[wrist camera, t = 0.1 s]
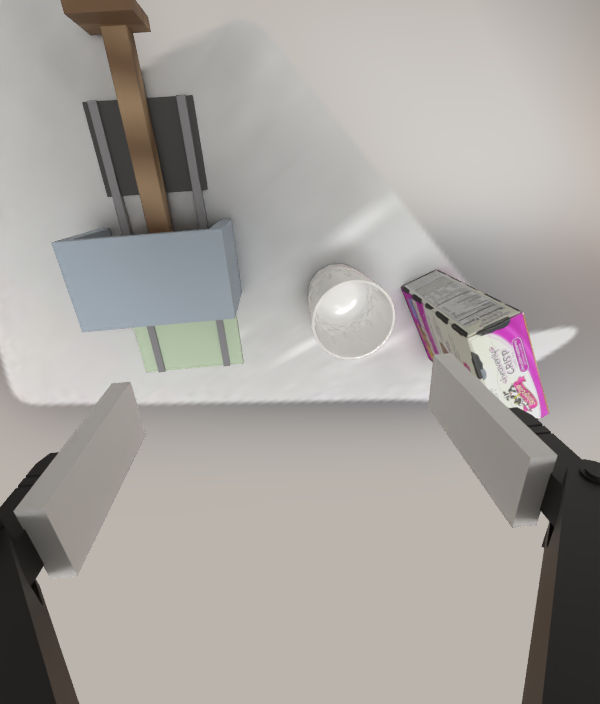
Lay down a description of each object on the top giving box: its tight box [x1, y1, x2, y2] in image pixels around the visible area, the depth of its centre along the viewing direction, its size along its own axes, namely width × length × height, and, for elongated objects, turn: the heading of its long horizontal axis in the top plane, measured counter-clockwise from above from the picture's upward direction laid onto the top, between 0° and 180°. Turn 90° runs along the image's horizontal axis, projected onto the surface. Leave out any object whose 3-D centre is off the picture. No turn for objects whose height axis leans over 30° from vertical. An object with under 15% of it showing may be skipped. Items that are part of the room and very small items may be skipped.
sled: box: [61, 0, 174, 234], centre depth 34 cm, size 24×6×6 cm, turn 4°
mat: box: [134, 316, 243, 372], centre depth 44 cm, size 8×12×1 cm, turn 94°
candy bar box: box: [401, 270, 549, 420], centre depth 38 cm, size 11×5×16 cm, turn 27°
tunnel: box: [52, 95, 242, 372], centre depth 36 cm, size 28×14×9 cm, turn 4°
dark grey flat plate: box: [82, 95, 208, 197], centre depth 36 cm, size 8×10×1 cm
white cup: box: [308, 264, 395, 359], centre depth 39 cm, size 8×8×10 cm
